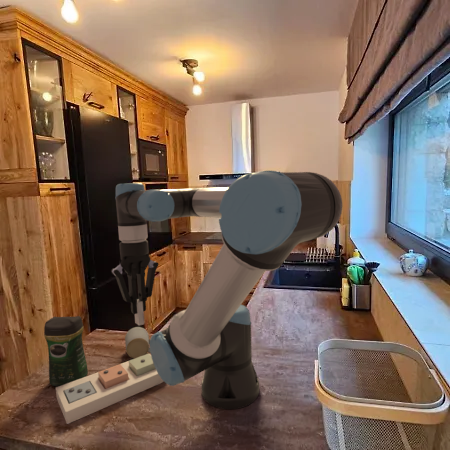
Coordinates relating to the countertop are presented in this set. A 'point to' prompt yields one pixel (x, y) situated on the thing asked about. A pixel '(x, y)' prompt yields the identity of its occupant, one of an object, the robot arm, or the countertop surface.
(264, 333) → the countertop surface
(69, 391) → the three-pip button
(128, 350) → the ceramic mug
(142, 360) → the one-pip button
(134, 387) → the button panel
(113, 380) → the two-pip button
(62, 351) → the coffee jar
